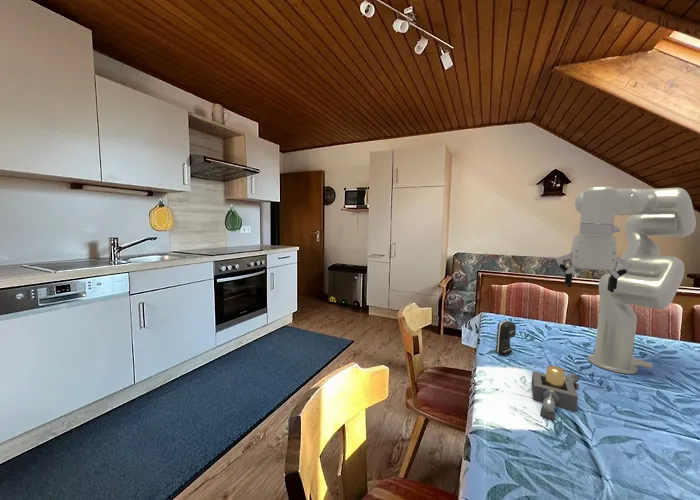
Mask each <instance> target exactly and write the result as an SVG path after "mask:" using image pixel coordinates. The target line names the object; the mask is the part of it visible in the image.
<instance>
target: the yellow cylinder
mask: <svg viewBox="0 0 700 500" xmlns="http://www.w3.org/2000/svg"><path fill="white" fill-rule="evenodd" d="M545 374H546V380H545V385H546V386H550V387H554V388H558V389H562V390H563V386H564V377H565V376H566V375H565V374H566V370H565V369H564V368H562V367H560V366H557V365H551V364H550V365H547V366H546V373H545Z"/></svg>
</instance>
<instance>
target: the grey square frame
mask: <svg viewBox="0 0 700 500" xmlns="http://www.w3.org/2000/svg"><path fill="white" fill-rule="evenodd" d="M531 374H532V375H531V382H530V383H531V394H532V395H531V396H532V400H533V401H535V402H537V403H538V402H539V403H542V404H543V401H544V400H543V398H542V394H543V391H544V390H546V389H551V390H554V391H555V392H557V393H558V395H559V397H560V400H559V403H558V404H557V405H555V408H560V409H563V410H567V411H571V412H575V413H577V409H578V400H579V396H578V393H577V391H576V390H575V387H574V385H573V382H572V380H565V379H564V386H563V390H562V389H558V388H554V387H550V386H546V385H545V380H546V373H542V372H538V371H532V373H531Z"/></svg>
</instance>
